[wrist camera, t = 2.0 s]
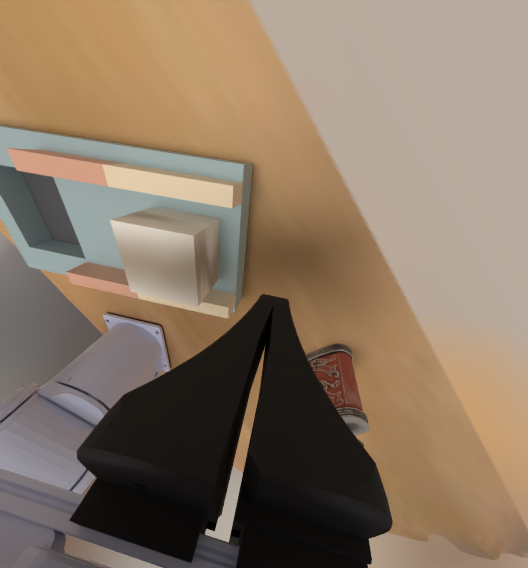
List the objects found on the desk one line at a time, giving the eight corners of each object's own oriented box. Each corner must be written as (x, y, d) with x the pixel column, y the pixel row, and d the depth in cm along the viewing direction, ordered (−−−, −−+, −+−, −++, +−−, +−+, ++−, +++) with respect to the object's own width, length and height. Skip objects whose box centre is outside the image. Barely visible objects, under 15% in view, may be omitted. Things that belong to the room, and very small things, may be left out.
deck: (242, 297, 21) (227, 327, 17) (54, 257, 23) (4, 276, 19) (252, 164, 14) (233, 165, 10) (-12, 122, 16) (-109, 111, 12)
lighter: (302, 379, 26) (301, 482, 18) (284, 365, 25) (274, 466, 17) (358, 356, 22) (389, 474, 14) (339, 338, 21) (360, 453, 13)
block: (219, 277, 17) (198, 306, 14) (164, 266, 17) (130, 291, 14) (219, 218, 14) (193, 235, 11) (154, 206, 15) (109, 219, 11)
